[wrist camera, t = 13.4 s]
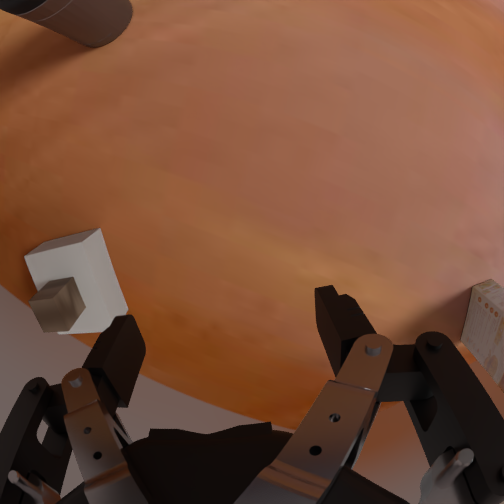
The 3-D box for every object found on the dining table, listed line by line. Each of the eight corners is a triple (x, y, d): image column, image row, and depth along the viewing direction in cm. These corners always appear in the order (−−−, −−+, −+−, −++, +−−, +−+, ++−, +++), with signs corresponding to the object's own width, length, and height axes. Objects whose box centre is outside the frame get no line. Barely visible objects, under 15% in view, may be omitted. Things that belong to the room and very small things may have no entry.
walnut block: (49, 280, 35) (28, 301, 30) (73, 276, 35) (52, 298, 30) (61, 309, 37) (43, 332, 31) (86, 307, 37) (68, 331, 31)
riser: (43, 242, 39) (24, 256, 33) (100, 227, 39) (82, 242, 33) (72, 314, 44) (58, 334, 39) (128, 309, 44) (116, 330, 39)
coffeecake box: (479, 331, 52) (523, 381, 34) (459, 340, 52) (503, 395, 34) (492, 277, 46) (550, 324, 28) (471, 285, 47) (531, 338, 29)
